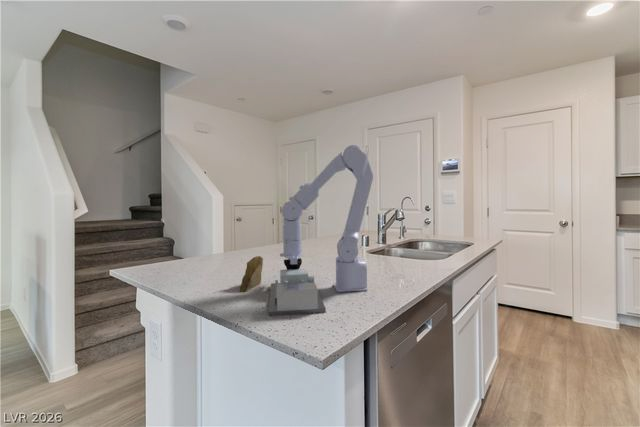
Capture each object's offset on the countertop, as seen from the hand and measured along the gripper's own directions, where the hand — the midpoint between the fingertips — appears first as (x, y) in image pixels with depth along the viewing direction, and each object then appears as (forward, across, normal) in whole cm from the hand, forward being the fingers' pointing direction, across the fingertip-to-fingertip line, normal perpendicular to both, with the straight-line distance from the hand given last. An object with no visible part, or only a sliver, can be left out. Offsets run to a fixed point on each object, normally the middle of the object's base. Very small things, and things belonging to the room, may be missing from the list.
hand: (293, 282), depth 97 cm
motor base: (+2, +10, 0) cm, 10 cm away
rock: (+2, -4, -14) cm, 15 cm away
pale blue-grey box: (+1, +6, +1) cm, 7 cm away
